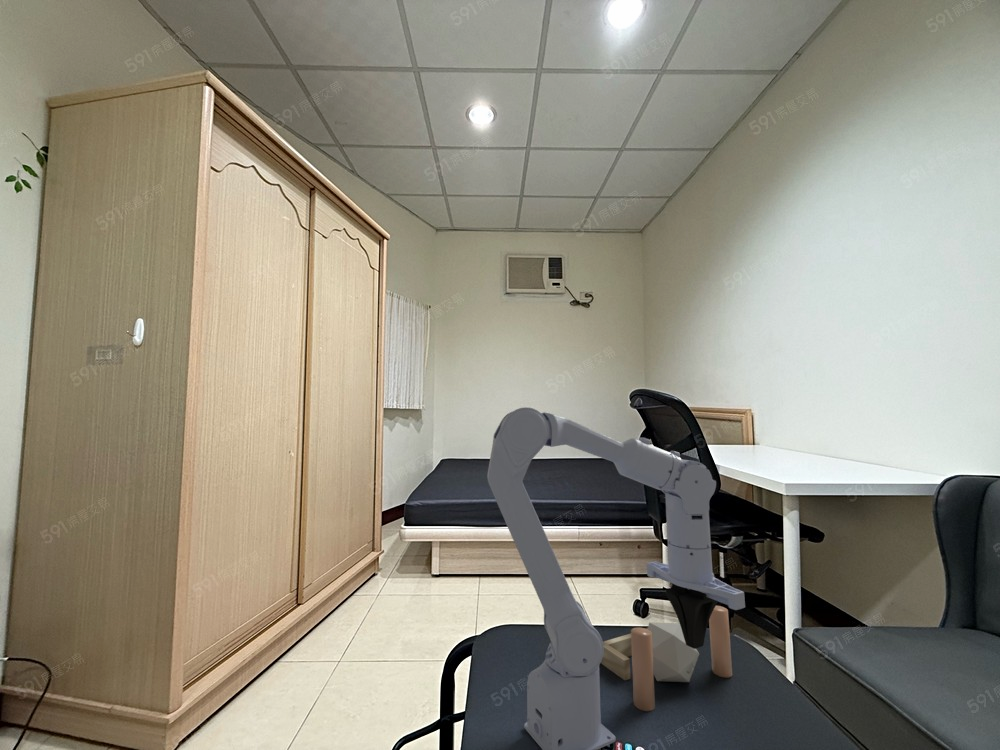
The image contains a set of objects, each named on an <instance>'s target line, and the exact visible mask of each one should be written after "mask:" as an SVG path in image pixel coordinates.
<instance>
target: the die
mask: <svg viewBox="0 0 1000 750" xmlns="http://www.w3.org/2000/svg"><path fill="white" fill-rule="evenodd" d="M646 629H648V630H649V631H651V632H652V648H653V671H654V679H656V681H657V682H673V683H675V682H676V683H678V682H679V683H690V681H691V678H692V675H693V672H694V670H695V668H696V664H697V662H698V659H699V656H700V653H699V650H698V648H696V649H693V648H691V647H689V646H687V645H686V643H685V639H684V636H683V632H682V629H681V626H680V623H678V622H649V623H648V625H647V627H646Z"/></svg>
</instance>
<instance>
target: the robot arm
mask: <svg viewBox="0 0 1000 750" xmlns="http://www.w3.org/2000/svg"><path fill="white" fill-rule="evenodd" d="M651 442H652V441H651V440H650V439H649V438H646V437H639V438H634V437H632V438H629V439H626V440H625V441H622V442H621V441H618V440H616V439H614V438H612V437H610V436H607V435H605V434H603V433H601V432H599V431H596V430H593V428H592V429H591V428H589V427H587V426H584V425H582V424H580V423H577V422H576V421H573V420H571V419H570V418H569V419H568V418H567V417H563V416H559V415H557V414H553V413H550V412H549V413H548V412H546V411H544V412H541V411H539V410H537V409H535V408H532V407H526V406H525V407H520V408H517V409H514V410H513V411H511V412H509V413H507V414H505V416H504V417H503V418H502V419H501V420H500V423H499V424H498V426H497V428H496V430H495V432H494V433H493V438H492V445H491V452H490V458H489V464H488V469H487V474H486V475H487V476H486V478H487V483H488V485H489V487H490V490H491V492H492V494H493V496H494V497H493V498H494V499H495V501H496V504H497V506H498V508H499V510H500V513H501V515H502V517H503V519H504V522H505V525H506V526H507V528H508V531H509V533H510V536H511V538H512V541H513V542H514V545H515V547H516V549H517V552H518V553H519V556H520V558H521V561H522V563H523V565H524V568H525V569H526V572H527V574H528V577H529V579H530V582H531V583H532V586H533V588H534V590H535V593H536V595H537V597H538V599H539V603H540V604H541V606H542V609H543V625H544V629H545V631H546V634H548V637H549V639H550V642H549V644H548V647H547V649H546V652H545V659H544V661H543V662H542V663H541V664H540V665H539V666H538V667H536V668H535V669H533V670H531V671H530V672H529V674H528V677H527V681H526V683H527V684H526V711H527V713H526V715H527V716H526V722H524V725H523V726H524V729H525V731H526V732H527V733H528V734H529V735H530V736H531V738H532V739H533V740H534V741H535V743H537V745H538V746H539V747H540V748H541V750H600V749H601V748H604V747H607V746H609V745H611V744H613V743H615V742H616V741H617V739H616V736H615V735H614V734H613V733H612V732H611V731H610V730H609V729H608V728H607V727H606V726H604V724H602V720H601V719H602V718H601V685H600V684H601V683H600V680H601V679H600V664H601V661H602V658H603V653H604V646H603V642H604V640H603V638H602V636H601V634H600V633H599V631H598V630H597V629H596V628H595V627H594V625H593V624H592V622H591V621H590V619H589V618H588V616H587V615H586V612H585V610H584V607H583V606H582V605H581V603H580V602H578V601H577V600H576V597H575V596H574V593H573V592H572V590H571V588H570V586H569V583H568V581H567V579H566V577H565V574H564V572H563V569H562V568H561V565H560V563H559V561H558V559H557V556H556V554H555V551H554V550H553V547H552V545H551V543H550V541H549V539H548V536H547V535H546V531H545V530H544V527H543V525H542V523H541V521H540V519H539V516H538V514H537V512H536V510H535V508H534V505H533V502H532V501H531V498H530V495H529V494H528V491H527V490H526V487H525V485H524V481H523V480H524V478H525V476H526V473H527V471H528V469H529V466H530V464H531V462H532V460H533V459H534V458H535V457H536V456H537V454H538V453H540V451H541V450H542V449H543V448H544V446H545V447H551V448H552V447H558V446H559V447H561V446H569V447H571V448H574V449H578V450H579V451H582V452H585V453H588V454H591V455H593V456H596V457H598V458H602V459H604V460H607V461H610V462H613V464H614V466H615V469H616V470H617V472H618V474H619V475H620V476H622V477H625V478H628V479H630V480H632V481H636V482H638V483H641V484H642V485H645V486H648V487H651V488H653V489H656V490H659V491H661V492H662V493H663V494H665V495H664V497H665V517H666V518H665V519H666V532H667V535H666V537H667V553H668V555H667V556H668V564H666V563H661V562H659V561H650V562H647V563H646V572H647V573H646V575H647V576H648V577H649V578H654V579H655V578H657V579H659V580H662V581H665V582H668V583H670V584H671V586H670V588H668V589H666V590H665V596H666V597H667V599H668V600H669V603H670V604H671V606H672V608H673V610H674V612H675V615H676V616H677V620H678V622H679V623H680V626H681V629H682V632H683V636H684V639H685V643H686V645H687V646H689V647H691V648H693V649H699V648H702V647H703V646H704V642H705V639H706V638H705V637H706V633H707V629H708V625H709V619H710V616H711V614H712V612H713V610H714V608H715V606H717V605H718V603H721V604H724V605H726V606H728V608H729V609H731V610H734V611H738V610H742V609H744V608H746V601H745V599H746V598H745V592H744V591H742V590H740V589H737V588H735V587H733V586H731V585H730V584H727V583H726V582H723V581H721V580H720V579H719V578H716V577H715V574H714V573H713V561H712V558H713V557H712V542H711V528H710V527H711V526H710V500H711V498H712V496H713V495H714V494H715V491H716V488H717V480H715V479H713V476H712V473H711V470H710V469H708V468H707V466H706V465H704V464H703V463H702V462H700V461H696V460H689V459H684V458H683V459H682V458H681V457H680V456H681V454H680V452H678V451H675V450H670V451H667V450H664V449H662V448H659V447H657V446H654V445H652V444H651Z"/></svg>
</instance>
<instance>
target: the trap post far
mask: <svg viewBox="0 0 1000 750" xmlns="http://www.w3.org/2000/svg"><path fill="white" fill-rule="evenodd" d="M708 625H709V640H710V655H711V659H710V660H711V670H712V673H713V674H714V675H716V676H718V677H721V678H725V679H726V678H728V679H729V678H731V677H732V676H733V666H732V665H733V664H732V652H731V651H732V650H731V637H730V621H729V610H728V609H727V608H726V607H724V606H721V605H716V606H715V608H714V610H713V612H712V614H711V616H710V619H709V622H708Z"/></svg>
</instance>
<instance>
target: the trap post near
mask: <svg viewBox="0 0 1000 750" xmlns="http://www.w3.org/2000/svg"><path fill="white" fill-rule="evenodd" d="M630 633H631V644H632V655H631V663H632V666H631V667H632V668H631V669H632V671H631V672H632V693H633V705H634V706H635V707H636V708H637V709H639V710H640V711H645V712H651V711H652V712H653V711H654V710H655V709H656V698H655V676H654V671H653V648H652V632H651V631H649V630H648V629H647V628H643V627H633V628H632V629H630Z"/></svg>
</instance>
